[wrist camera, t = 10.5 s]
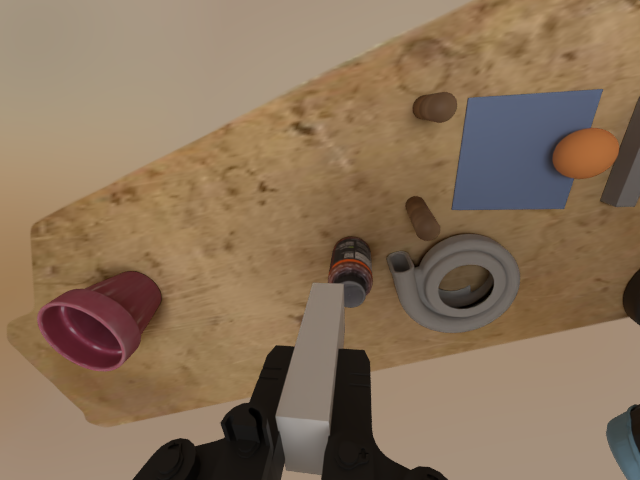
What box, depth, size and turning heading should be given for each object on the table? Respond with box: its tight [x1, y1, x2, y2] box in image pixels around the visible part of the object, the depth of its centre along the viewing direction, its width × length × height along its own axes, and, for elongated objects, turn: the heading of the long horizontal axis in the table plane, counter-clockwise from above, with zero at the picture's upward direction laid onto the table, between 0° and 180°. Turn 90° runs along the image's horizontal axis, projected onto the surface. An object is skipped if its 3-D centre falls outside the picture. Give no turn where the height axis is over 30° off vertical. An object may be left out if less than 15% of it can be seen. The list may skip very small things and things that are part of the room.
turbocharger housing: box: [387, 234, 520, 333], centre depth 42 cm, size 17×6×15 cm
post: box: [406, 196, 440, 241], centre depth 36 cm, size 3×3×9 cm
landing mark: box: [452, 89, 603, 210], centre depth 35 cm, size 14×14×1 cm
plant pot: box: [37, 271, 161, 371], centre depth 49 cm, size 14×14×13 cm
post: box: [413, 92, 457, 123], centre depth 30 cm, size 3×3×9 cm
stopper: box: [600, 97, 640, 207], centre depth 32 cm, size 2×12×2 cm, turn 3°
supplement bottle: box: [328, 237, 373, 308], centre depth 39 cm, size 6×6×11 cm
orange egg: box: [552, 128, 619, 179], centre depth 32 cm, size 6×6×6 cm
